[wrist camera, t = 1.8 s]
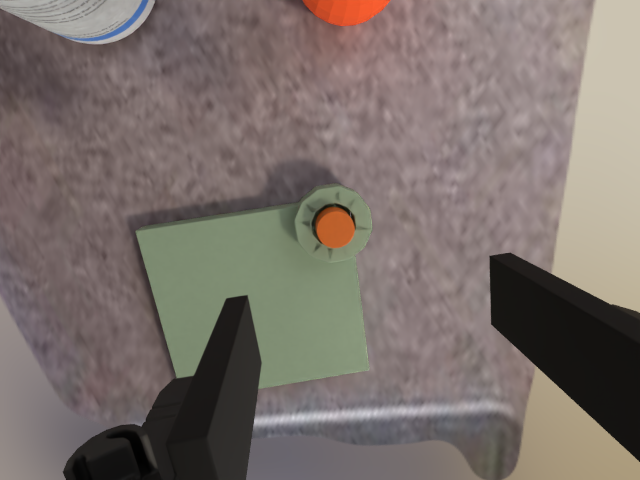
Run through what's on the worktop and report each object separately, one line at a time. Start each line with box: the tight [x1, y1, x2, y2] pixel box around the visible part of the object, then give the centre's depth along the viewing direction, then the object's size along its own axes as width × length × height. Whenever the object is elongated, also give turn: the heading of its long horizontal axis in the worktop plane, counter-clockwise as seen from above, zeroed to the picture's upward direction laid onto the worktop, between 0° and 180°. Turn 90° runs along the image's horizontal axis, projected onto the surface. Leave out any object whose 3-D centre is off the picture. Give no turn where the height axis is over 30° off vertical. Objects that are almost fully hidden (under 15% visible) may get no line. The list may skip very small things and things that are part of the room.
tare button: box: [315, 207, 355, 248], centre depth 27 cm, size 3×3×2 cm
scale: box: [136, 183, 372, 389], centre depth 30 cm, size 17×16×4 cm
